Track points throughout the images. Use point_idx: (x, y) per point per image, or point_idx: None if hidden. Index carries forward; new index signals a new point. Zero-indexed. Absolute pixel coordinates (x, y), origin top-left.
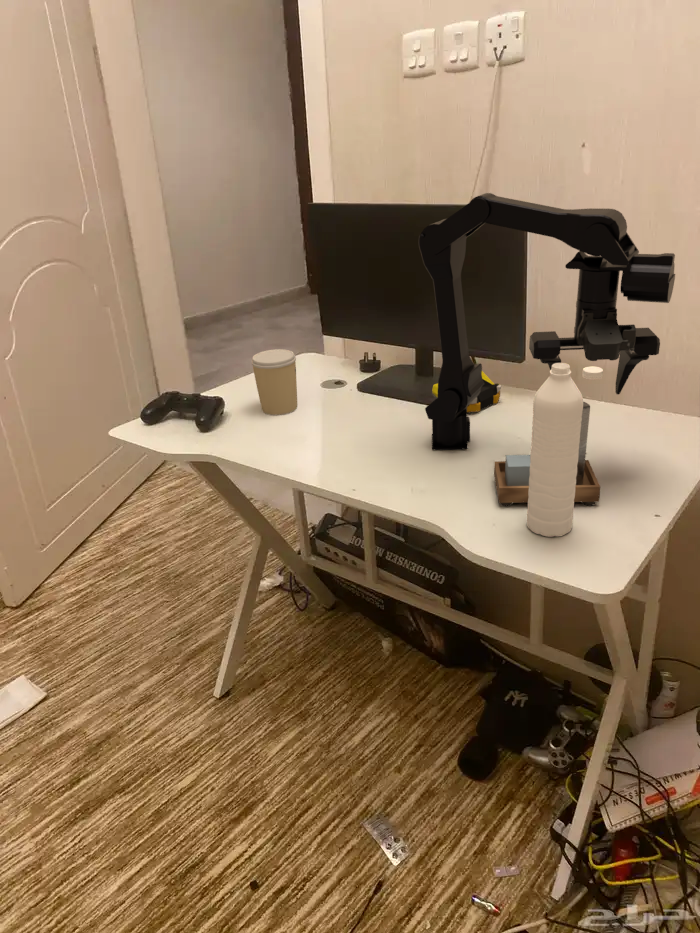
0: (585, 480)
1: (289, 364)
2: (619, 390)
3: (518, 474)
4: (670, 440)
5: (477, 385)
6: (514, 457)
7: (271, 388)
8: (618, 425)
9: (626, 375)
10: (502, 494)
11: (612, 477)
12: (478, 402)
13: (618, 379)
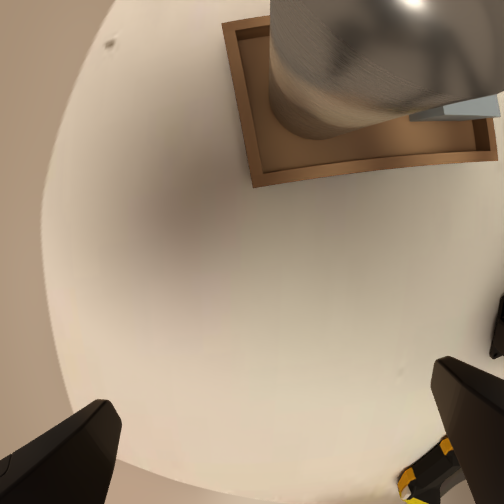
0: (261, 109)
1: None
2: (87, 410)
3: None
4: (92, 382)
5: None
6: (481, 99)
7: None
8: (188, 436)
9: (15, 461)
10: None
11: (188, 199)
12: (449, 452)
13: (81, 469)
